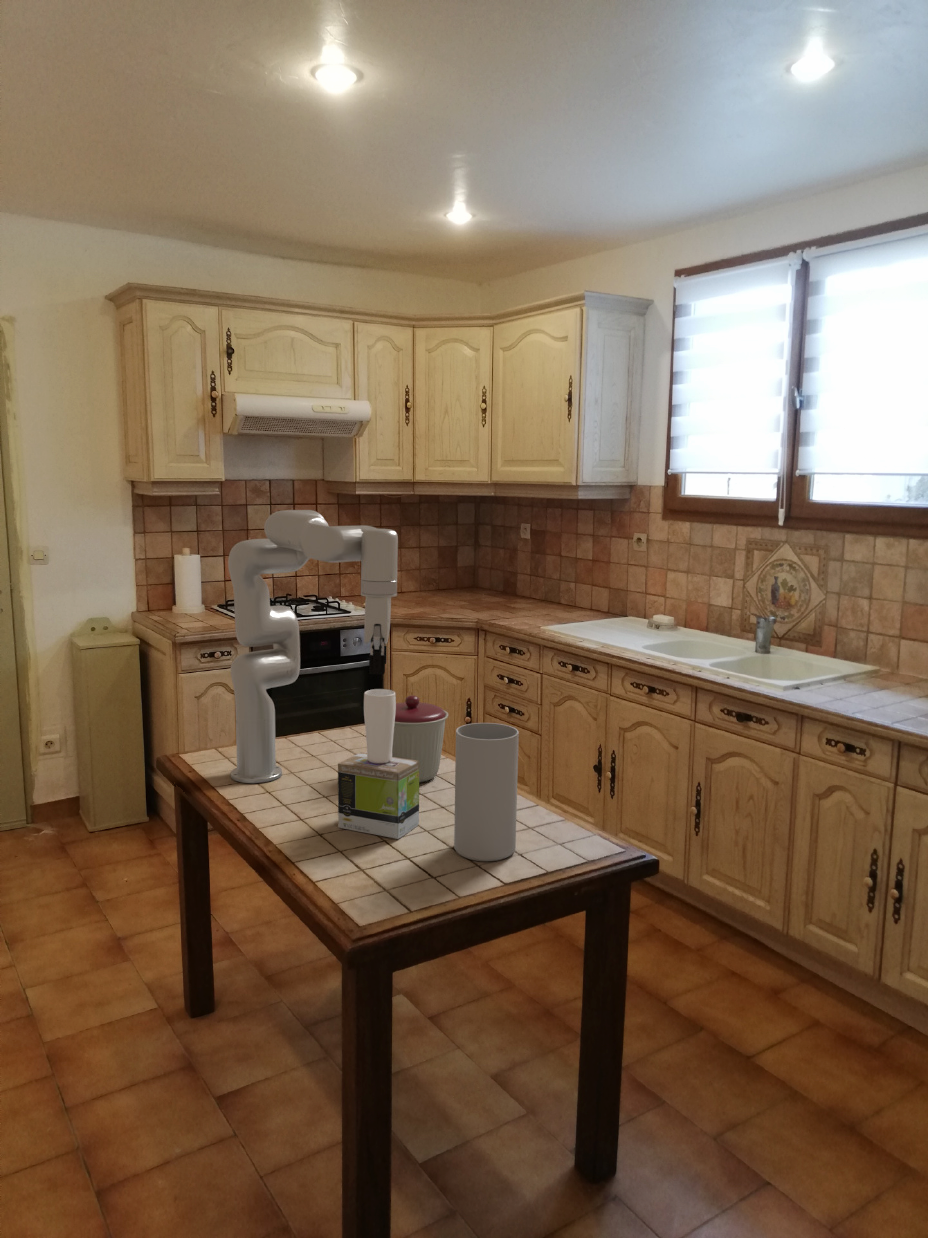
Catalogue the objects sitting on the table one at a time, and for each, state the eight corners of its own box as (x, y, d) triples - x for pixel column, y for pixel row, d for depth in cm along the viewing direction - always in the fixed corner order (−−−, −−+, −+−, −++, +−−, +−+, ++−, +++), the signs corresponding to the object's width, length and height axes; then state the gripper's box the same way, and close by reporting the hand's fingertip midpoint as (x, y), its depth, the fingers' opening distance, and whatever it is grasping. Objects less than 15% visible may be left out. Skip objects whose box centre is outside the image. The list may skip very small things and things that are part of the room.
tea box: (420, 825, 196) (421, 759, 194) (397, 841, 187) (398, 773, 185) (361, 813, 203) (361, 750, 200) (336, 828, 194) (336, 762, 191)
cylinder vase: (455, 837, 190) (457, 722, 186) (514, 839, 189) (517, 723, 186) (452, 862, 177) (454, 739, 174) (516, 864, 177) (519, 740, 173)
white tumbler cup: (390, 766, 189) (390, 697, 187) (359, 764, 190) (359, 695, 188) (399, 757, 196) (399, 689, 193) (369, 755, 197) (369, 688, 195)
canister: (434, 763, 240) (435, 685, 236) (457, 784, 223) (458, 701, 220) (367, 769, 233) (367, 690, 230) (386, 792, 216) (387, 707, 213)
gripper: (363, 582, 196) (362, 660, 198) (358, 593, 179) (357, 677, 181) (397, 583, 196) (396, 660, 199) (396, 594, 179) (394, 678, 182)
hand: (377, 668), depth 190 cm, fingers open, 9 cm apart
